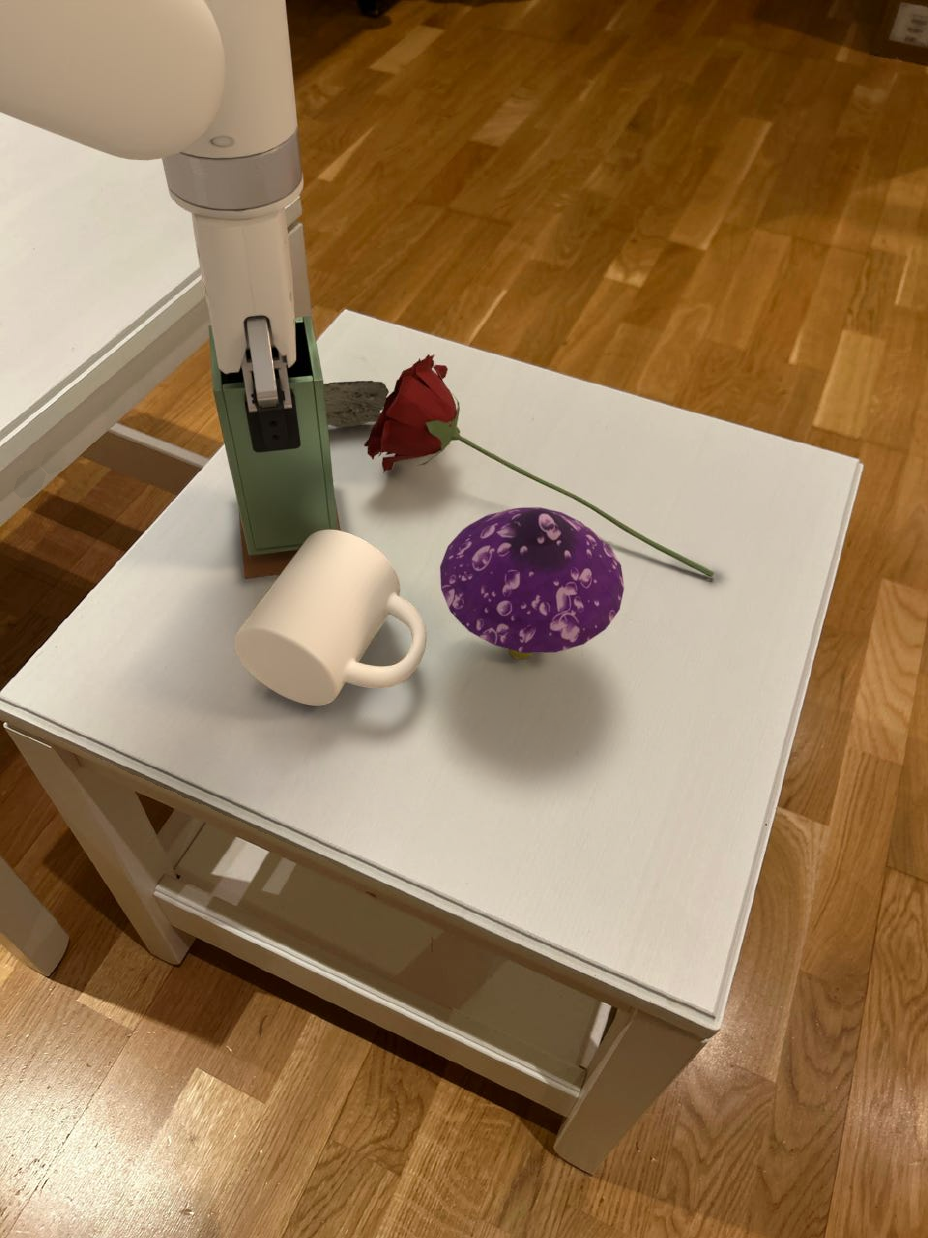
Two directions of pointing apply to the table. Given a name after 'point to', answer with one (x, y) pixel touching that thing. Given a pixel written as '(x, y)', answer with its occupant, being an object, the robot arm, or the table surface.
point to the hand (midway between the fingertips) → (272, 408)
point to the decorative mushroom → (531, 581)
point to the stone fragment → (354, 402)
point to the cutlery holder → (280, 454)
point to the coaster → (266, 559)
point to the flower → (446, 432)
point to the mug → (328, 621)
